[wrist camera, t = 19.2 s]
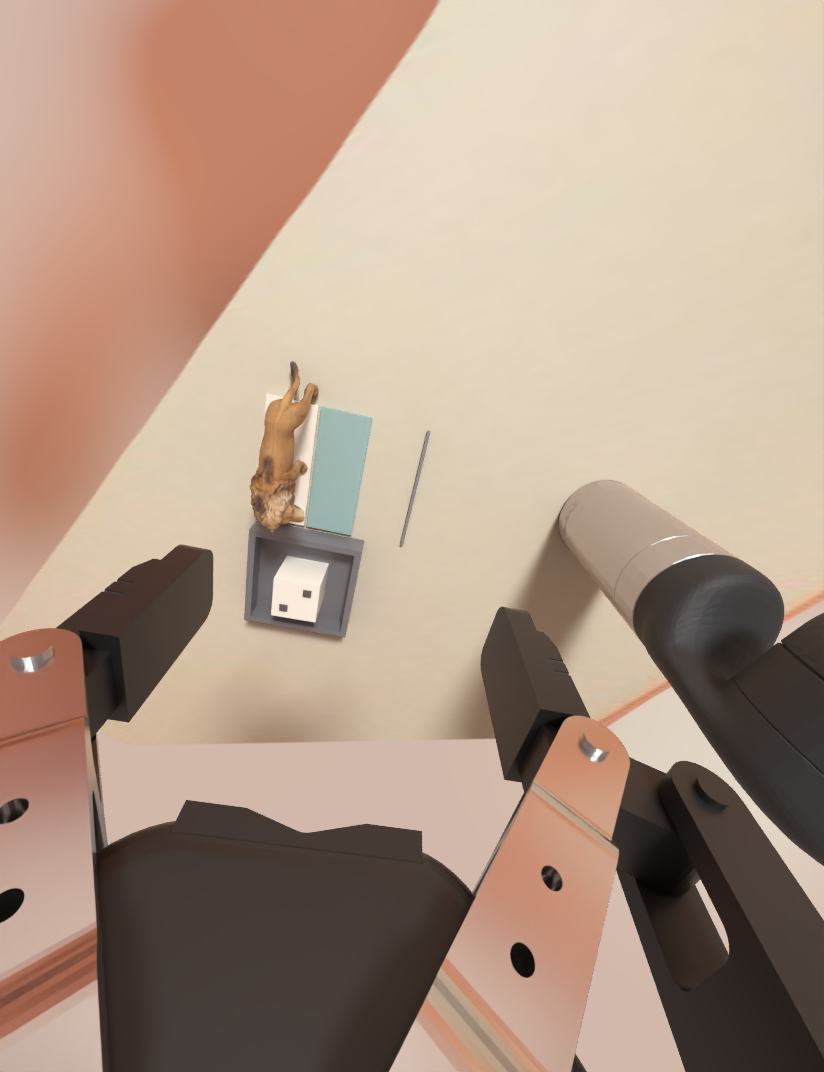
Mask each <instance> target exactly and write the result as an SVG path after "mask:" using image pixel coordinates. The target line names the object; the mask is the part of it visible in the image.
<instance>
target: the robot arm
mask: <svg viewBox="0 0 824 1072" xmlns="http://www.w3.org/2000/svg"><path fill="white" fill-rule="evenodd" d="M559 532H560V535H561V537H562V540H563V541H564V542H565V544H566V545H567V546H568V548H569V549H570V550H571V551H572V553H573V554H574V555H575V557H576V558H577V560H578V561H579V562H580V563H581V565H582V566H583V567H584V569H585V570H586V571H587V573H588V574H589V575H590V576H591V578H592V579H593V580H594V582H595V583H596V584H597V585H598V587H599V588H600V589H601V591H602V592H603V593H604V595H605V596H606V597H607V598H608V600H609V601H610V602H611V604H612V605H613V606H614V607H615V609H616V610H617V611H618V613H619V614H620V615H621V616H622V618H623V619H624V620H625V621H626V623H627V624H628V625H629V627H630V628H631V629H632V630H633V632H634V633H635V634H636V636H637V637H638V638H639V639H640V641H641V642H642V643H643V644H644V646H645V647H646V649H647V652H648V654H649V655H650V657H651V658H652V660H653V661H654V663H655V664H656V665H657V667H658V668H659V669H660V671H661V672H662V673H663V675H664V676H665V678H666V679H667V680H668V682H669V683H670V685H671V686H672V687H673V689H674V690H675V692H676V693H677V695H678V696H679V698H680V699H681V700H682V702H683V704H684V705H685V707H686V708H687V709H688V711H689V712H690V714H691V716H692V717H693V719H694V720H695V722H696V723H697V725H698V726H699V728H700V729H701V731H702V732H703V734H704V735H705V737H706V738H707V740H708V741H709V743H710V744H711V746H712V747H713V748H714V750H715V751H716V752H717V754H718V755H719V757H720V758H721V760H722V761H723V763H724V764H725V765H726V767H727V768H728V769H729V771H730V772H731V773H732V775H733V776H734V778H735V779H736V780H737V782H738V783H739V784H740V785H741V786H742V788H743V789H744V790H745V791H746V793H747V794H748V795H749V796H750V797H751V799H752V800H753V801H754V802H755V804H756V805H757V806H758V807H759V808H760V809H761V811H762V812H763V813H764V814H765V815H766V816H767V817H768V818H769V819H770V820H771V821H772V822H773V823H774V824H775V825H776V826H777V827H778V828H779V829H780V830H781V831H782V832H783V833H784V834H785V835H786V836H787V837H788V838H789V839H790V840H791V841H792V842H793V843H795V844H796V845H797V846H798V847H799V848H801V849H802V850H803V851H804V852H806V853H807V854H808V855H810V856H811V857H812V858H814V859H815V860H816V861H817V862H819V863H820V864H822V865H823V866H824V613H822V614H821V615H818V616H817V617H815V618H813V619H811V620H810V621H808V622H806V623H805V624H803V625H802V626H801V627H799V628H798V629H796V630H795V631H794V632H792V633H791V634H790V635H788V636H787V637H785V638H784V639H782V640H781V642H782V644H781V643H777V644H776V645H774V643H775V641H776V639H777V637H778V635H779V633H780V630H781V627H782V624H783V620H784V604H783V600H782V597H781V594H780V592H779V591H778V589H777V588H776V587H775V585H774V584H773V583H772V582H771V581H770V580H769V579H768V578H767V577H766V576H764V575H763V574H762V573H760V572H759V571H757V570H756V569H754V568H753V567H751V566H750V565H748V564H747V563H745V562H743V561H742V560H740V559H738V558H737V557H735V556H734V555H732V554H731V553H729V552H728V551H726V550H724V549H723V548H721V547H720V546H718V545H717V544H715V543H714V542H712V541H710V540H709V539H707V538H706V537H704V536H703V535H701V534H700V533H698V532H697V531H695V530H694V529H692V528H691V527H689V526H687V525H686V524H684V523H683V522H681V521H680V520H678V519H677V518H675V517H674V516H672V515H671V514H669V513H668V512H666V511H665V510H663V509H662V508H660V507H659V506H657V505H656V504H654V503H652V502H651V501H649V500H648V499H647V498H645V497H644V496H642V495H641V494H639V493H638V492H636V491H634V490H633V489H631V488H630V487H628V486H626V485H624V484H623V483H620V482H616V481H599V482H594V483H591V484H589V485H586V486H584V487H583V488H581V489H579V490H578V491H577V492H575V493H574V494H573V495H572V496H571V497H570V498H569V499H568V501H567V502H566V503H565V505H564V507H563V509H562V511H561V514H560V517H559ZM212 600H213V554H212V551H211V550H207V549H202V548H197V547H191V546H186V545H178V546H177V547H175V548H174V549H173V550H172V551H171V552H170V553H168V554H167V555H166V556H165V557H164V558H163V559H161V560H158V559H152V560H149V561H147V562H144V563H142V564H139V565H137V566H134V567H132V568H131V569H130V570H129V571H127V572H126V573H125V574H123V575H122V576H121V577H120V578H118V580H117V582H113V583H112V584H111V585H110V586H108V587H107V588H106V589H105V591H104V592H101V593H100V594H98V595H97V596H96V597H94V598H93V599H92V600H91V601H89V602H88V603H87V604H86V605H84V606H83V607H82V608H81V609H79V610H78V611H77V612H76V613H74V614H73V615H72V616H70V617H69V618H68V619H67V620H65V621H64V622H63V623H62V624H60V625H59V626H58V627H57V628H47V629H37V630H31V631H27V632H23V633H20V634H16V635H14V636H11V637H9V638H6V639H4V640H2V641H0V1072H587V1071H586V1070H585V1068H584V1067H583V1065H582V1063H581V1062H580V1060H579V1059H578V1057H577V1056H576V1054H575V1051H576V1047H577V1043H578V1038H579V1034H580V1029H581V1024H582V1020H583V1016H584V1011H585V1007H586V1002H587V998H588V993H589V989H590V984H591V979H592V975H593V971H594V966H595V962H596V957H597V952H598V948H599V943H600V939H601V934H602V930H603V926H604V921H605V916H606V912H607V908H608V903H609V899H610V893H611V890H612V885H613V880H614V876H615V872H616V870H617V874H618V877H619V880H620V882H621V885H622V888H623V891H624V894H625V897H626V900H627V903H628V906H629V908H630V911H631V914H632V917H633V920H634V923H635V926H636V929H637V932H638V935H639V937H640V941H641V943H642V946H643V949H644V952H645V955H646V958H647V961H648V964H649V967H650V969H651V973H652V976H653V978H654V981H655V984H656V987H657V990H658V993H659V996H660V999H661V1002H662V1005H663V1008H664V1010H665V1013H666V1016H667V1019H668V1022H669V1025H670V1028H671V1031H672V1034H673V1036H674V1039H675V1042H676V1045H677V1048H678V1051H679V1054H680V1057H681V1060H682V1063H683V1066H684V1068H685V1071H686V1072H824V920H823V919H822V917H821V916H820V914H819V913H818V911H817V910H816V908H815V907H814V905H813V904H812V903H811V901H810V900H809V898H808V897H807V895H806V894H805V892H804V891H803V889H802V888H801V886H800V885H799V883H798V882H797V880H796V879H795V877H794V876H793V875H792V873H791V872H790V870H789V869H788V867H787V866H786V864H785V863H784V861H783V860H782V858H781V857H780V855H779V854H778V852H777V851H776V849H775V848H774V847H773V845H772V844H771V842H770V841H769V839H768V838H767V836H766V835H765V834H764V832H763V830H762V829H761V827H760V826H759V825H758V823H757V821H756V820H755V819H754V817H753V816H752V814H751V813H750V811H749V810H748V808H747V807H746V805H745V804H744V802H743V801H742V800H741V798H740V797H739V796H738V794H737V793H736V792H735V791H734V790H733V789H732V788H731V787H730V786H729V785H728V784H727V783H726V782H724V780H722V779H721V778H720V777H718V776H717V775H716V774H714V773H713V772H711V771H710V770H708V769H706V768H704V767H702V766H700V765H698V764H696V763H692V762H688V761H679V762H676V763H675V764H674V765H673V766H672V767H671V769H670V770H669V771H668V772H667V774H666V773H664V772H661V771H659V770H657V769H655V768H652V767H650V766H648V765H645V764H643V763H641V762H639V761H636V760H634V759H632V758H630V757H629V755H628V753H627V751H626V749H625V747H624V745H623V744H622V742H621V741H620V740H619V739H618V737H617V736H616V735H615V734H614V733H613V732H611V731H610V730H609V729H608V728H607V727H605V726H604V725H602V724H601V723H599V722H597V721H595V720H593V719H591V718H590V716H589V714H588V712H587V710H586V708H585V705H584V703H583V701H582V699H581V697H580V695H579V693H578V691H577V689H576V687H575V685H574V683H573V680H572V678H571V676H569V675H568V674H569V672H568V670H567V668H566V666H565V664H564V663H563V660H562V658H561V655H560V653H559V651H558V649H557V647H556V646H555V644H554V643H553V642H552V641H551V640H550V639H549V638H548V637H547V636H546V635H545V634H544V633H543V632H539V631H537V630H536V628H535V626H534V624H533V621H532V619H531V617H530V615H529V613H528V612H527V611H522V610H517V609H511V608H506V607H500V608H499V609H498V611H497V613H496V616H495V618H494V621H493V624H492V626H491V629H490V631H489V634H488V636H487V639H486V642H485V644H484V647H483V650H482V654H481V672H482V677H483V682H484V686H485V691H486V696H487V700H488V705H489V710H490V714H491V719H492V724H493V728H494V733H495V738H496V743H497V747H498V752H499V756H500V761H501V766H502V771H503V775H504V779H505V780H510V781H516V782H522V785H523V789H524V794H523V796H522V797H521V800H520V801H519V803H518V805H517V807H516V809H515V811H514V813H513V815H512V817H511V819H510V821H509V822H508V824H507V826H506V828H505V830H504V832H503V834H502V836H501V838H500V840H499V842H498V844H497V846H496V847H495V849H494V852H493V853H492V855H491V857H490V859H489V861H488V863H487V865H486V867H485V869H484V871H483V872H482V874H481V876H480V878H479V880H478V882H477V884H476V885H475V887H474V889H473V891H472V892H471V891H470V890H469V888H468V887H467V886H466V885H465V884H464V883H463V882H462V881H461V880H460V879H459V878H458V877H457V876H456V875H455V874H454V873H453V872H452V871H451V870H449V869H448V868H447V867H446V866H444V865H443V864H442V863H440V862H439V861H437V860H436V859H434V858H432V857H431V856H429V855H427V854H425V853H423V852H422V831H416V830H408V829H400V828H393V827H386V826H378V825H371V824H363V825H356V826H350V827H344V828H337V829H331V830H324V831H318V832H312V833H302V832H299V831H296V830H294V829H292V828H290V827H287V826H285V825H283V824H281V823H278V822H276V821H274V820H272V819H270V818H267V817H265V816H263V815H261V814H258V813H256V812H254V811H252V810H250V809H248V808H242V807H235V806H228V805H220V804H212V803H205V802H197V801H190V800H186V802H185V804H184V806H183V808H182V810H181V812H180V814H179V816H178V818H177V820H176V821H173V822H167V823H163V824H159V825H155V826H152V827H148V828H146V829H143V830H140V831H138V832H135V833H132V834H130V835H128V836H126V837H124V838H122V839H119V840H118V841H115V842H113V843H111V844H110V845H108V842H107V834H106V827H105V817H104V807H103V795H102V784H101V773H100V760H99V749H98V739H97V734H96V733H97V732H98V730H99V729H100V728H101V727H102V725H103V724H104V723H105V722H106V721H107V719H110V720H116V721H123V722H130V720H131V719H132V718H133V716H134V715H135V714H136V712H137V711H138V710H139V708H140V707H141V706H142V704H143V703H144V702H145V700H146V699H147V698H148V696H149V695H150V694H151V692H152V691H153V690H154V688H155V687H156V686H157V684H158V683H159V682H160V680H161V679H162V678H163V676H164V675H165V674H166V672H167V671H168V670H169V668H170V667H171V666H172V664H173V663H174V662H175V660H176V659H177V658H178V656H179V655H180V654H181V652H182V651H183V650H184V648H185V647H186V646H187V644H188V643H189V642H190V640H191V639H192V638H193V636H194V635H195V634H196V632H197V631H198V630H199V628H200V627H201V626H202V624H203V623H204V622H205V620H206V619H207V617H208V615H209V612H210V609H211V606H212ZM773 645H774V646H773ZM700 879H701V881H702V883H703V885H704V887H705V889H706V891H707V893H708V895H709V897H710V899H711V901H712V903H713V905H714V907H715V909H716V911H717V913H718V915H719V917H720V919H721V921H722V923H723V925H724V927H725V930H726V933H727V937H728V941H729V954H728V952H727V950H726V948H725V946H724V944H723V942H722V940H721V938H720V936H719V934H718V932H717V930H716V927H715V925H714V923H713V921H712V919H711V917H710V915H709V913H708V911H707V909H706V907H705V905H704V902H703V901H702V898H701V897H700V894H699V892H698V890H697V888H696V886H695V884H696V883H697V882H698V881H699V880H700Z"/></svg>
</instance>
